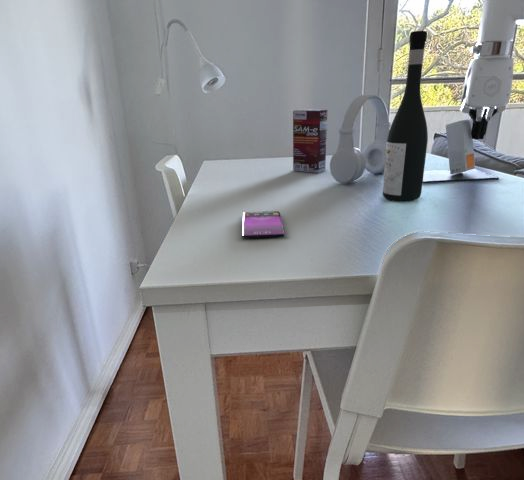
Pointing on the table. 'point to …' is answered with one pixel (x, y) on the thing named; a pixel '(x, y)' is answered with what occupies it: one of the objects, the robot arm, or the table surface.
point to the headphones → (352, 159)
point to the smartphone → (262, 224)
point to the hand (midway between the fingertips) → (477, 138)
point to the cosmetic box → (460, 146)
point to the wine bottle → (408, 133)
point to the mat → (456, 176)
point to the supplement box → (309, 140)
